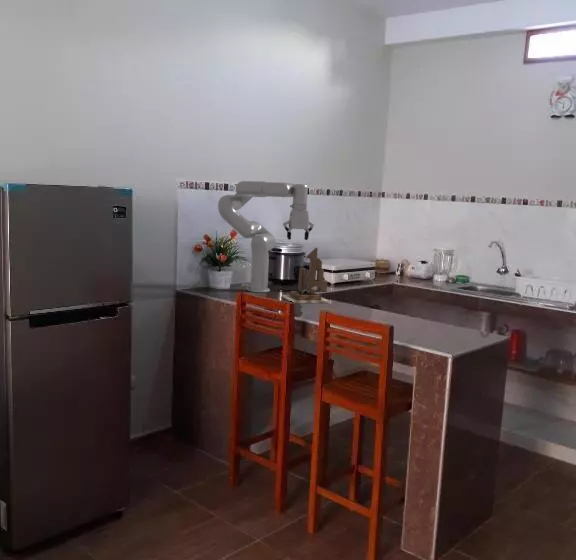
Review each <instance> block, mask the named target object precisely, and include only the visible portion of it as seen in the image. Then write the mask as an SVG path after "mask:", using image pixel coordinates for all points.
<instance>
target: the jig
mask: <svg viewBox="0 0 576 560" xmlns="http://www.w3.org/2000/svg"><path fill="white" fill-rule="evenodd" d="M297 291H298V290H291V291H289V294H281V298H283V299H285V300H286V301H288V302H290V301H292V302H294V303H293V304H330V300H328V299H326V298H324V297H322V295H321V294H319V293H317V292H314V291H311V290H310V291H311V293H312V292H314V293H312V294H310V295H305V294H304V293H299V292H297ZM310 291H308V292H310ZM292 302H291V303H292Z"/></svg>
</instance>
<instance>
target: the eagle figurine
mask: <svg viewBox="0 0 576 560" xmlns="http://www.w3.org/2000/svg"><path fill="white" fill-rule="evenodd" d="M307 284H308V281H307V283H306V285H305V290H296V291H297V292H299V293H304V294H305V295H310V294H312V293H314V292H315V290H314V291H313V292H312V293H311V290H310V292H308V291H307ZM315 293H316V292H315Z"/></svg>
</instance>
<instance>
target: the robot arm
mask: <svg viewBox="0 0 576 560" xmlns="http://www.w3.org/2000/svg"><path fill="white" fill-rule="evenodd" d="M308 191H309V187H308V185H307V184H304V183H292V182H291V183H290V182H268V181H267V182H266V181H265V180H264V181H258V180H255V181H254V180H253V181H252V180H242V181H239V182H238V183H237V184H236V186H235V194H225V195H222V196H221V197H220V198H219V199H218V204H217V209H218V210H217V211H218V213H219V215H220V216H221V218H222V219H223V220H224V221H225V222H226V223H227V224H228V225H230V227H232V229H234V231H236V232H237V233H238V234H239V235H240V236H241V237H243V238H244V239H251V240H250V241H251V242H250V249H251V250H250V251H251V258H250V259H251V264H250V265H251V266H250V281H248V282H247V283H241V287H242V288H246V289H247V291H248V292H252V293H269V292H270V291H271V289H270V288H269V287H268V279H269V262H270V261H269V259H270V257H269V256H270V255H269V251H270V250H272V249H274V248H275V246H276V244H277V243H276V242H277V241H276V238H275V236H274V235H273V234H272V232H270V231H269V230H268V228H266V227H264V226H263V225H262V223H260V222H258V221H255V220H248V219H247V218H245V217H244V216H243V215H242V214H241V213H240V212H238V210H240V209H242V208H243V207H244V206H245V205H246V204H247V203H248V202H249V201H250V200H251V199H252V198H266V197H267V198H268V197H269V198H270V197H271V198H272V197H273V198H275V197H277V198H292V204H290V205H289V207H290V208H291V210H290V213H289V217H288V218H289V219H288V220H286V221H284V222H283V223H282V225H283V227H284V229H285V231H286V238H287V240H289V241H290V240H291V239H292V230H293V229H294V230H304V231H305V232H304V240H305V241H308V239H309V235H310V232H311V231H312V230H313V228H314V226H315V224H314V223H312V222H310V219H309V218H310V217H309V216H310V215H309V210H307V208H308V207H307V206H308ZM287 225H288V226H287Z"/></svg>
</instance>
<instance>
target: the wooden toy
mask: <svg viewBox="0 0 576 560" xmlns="http://www.w3.org/2000/svg"><path fill="white" fill-rule="evenodd" d="M318 249H319V248H318V247H315V248H314V249H312V251H310V253H308V254H307V255H306V256H305V259H309V269H308V271H307V273H306V268H305V267H299V269H298V271H299V272H298V290H297V291H299V290H305V285H306V283H307V281H308V284H307V291H311V290H312V289H313V288H315V287H316V290H317V291H318V290H319V291H318V292H320V291H321V292H320V293H327V292H328V291H327V290H328V281H327V280H326V279H325V276H324V273H325V270H324V269H322V268H323V261H322V260H321V258H319V257H318V252H319V251H318Z"/></svg>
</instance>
